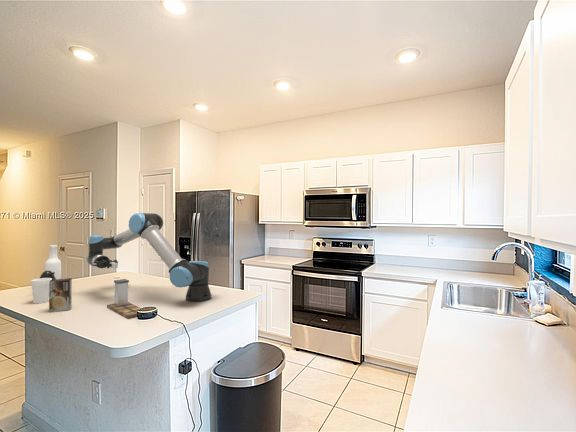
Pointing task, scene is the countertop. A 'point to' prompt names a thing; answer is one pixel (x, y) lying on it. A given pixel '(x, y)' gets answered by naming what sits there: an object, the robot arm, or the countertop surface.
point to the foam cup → (40, 290)
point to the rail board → (125, 310)
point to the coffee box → (60, 294)
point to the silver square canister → (121, 292)
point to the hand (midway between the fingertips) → (115, 265)
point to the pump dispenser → (48, 275)
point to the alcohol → (53, 262)
